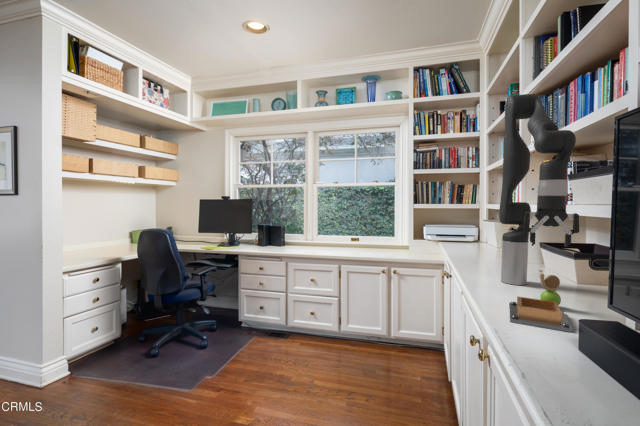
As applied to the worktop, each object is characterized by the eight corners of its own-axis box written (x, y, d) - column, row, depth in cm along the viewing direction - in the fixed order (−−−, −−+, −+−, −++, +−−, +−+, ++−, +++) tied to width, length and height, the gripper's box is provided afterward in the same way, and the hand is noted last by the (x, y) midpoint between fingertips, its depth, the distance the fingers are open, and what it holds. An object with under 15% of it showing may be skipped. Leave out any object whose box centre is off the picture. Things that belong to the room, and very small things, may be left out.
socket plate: (509, 305, 105) (509, 293, 104) (562, 313, 98) (563, 300, 98) (510, 321, 91) (510, 308, 91) (572, 332, 84) (573, 317, 84)
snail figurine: (533, 303, 106) (534, 268, 106) (552, 304, 106) (554, 268, 106) (543, 309, 101) (545, 272, 100) (564, 310, 101) (566, 272, 100)
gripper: (578, 194, 101) (575, 245, 102) (524, 194, 108) (522, 242, 109) (582, 194, 95) (580, 249, 96) (525, 194, 102) (523, 245, 103)
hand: (549, 245), depth 103 cm, fingers open, 8 cm apart
